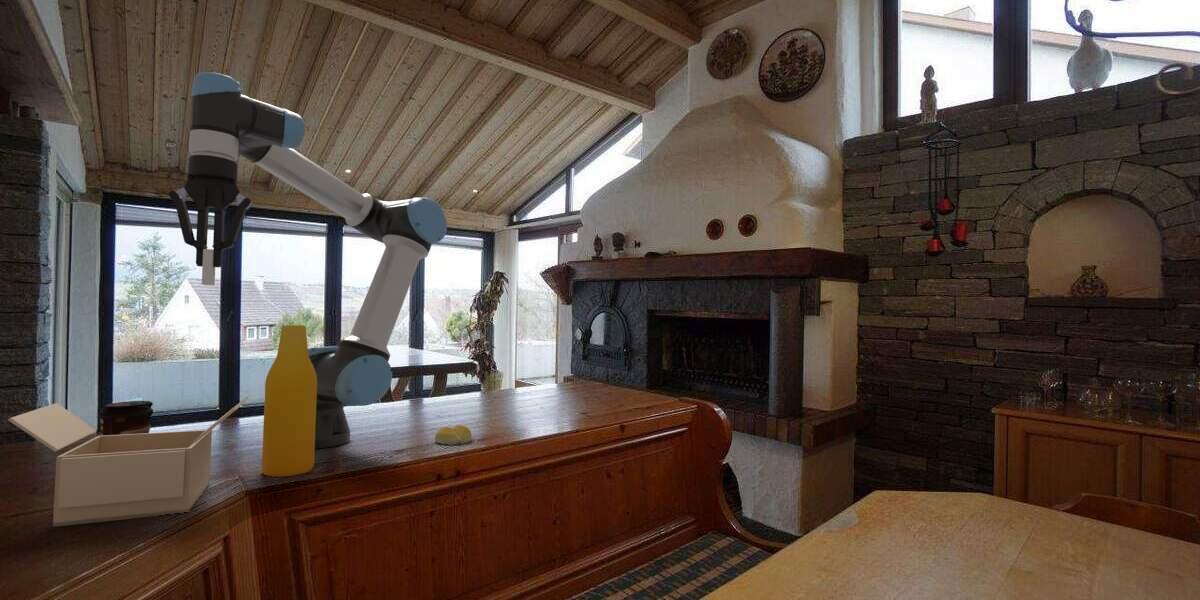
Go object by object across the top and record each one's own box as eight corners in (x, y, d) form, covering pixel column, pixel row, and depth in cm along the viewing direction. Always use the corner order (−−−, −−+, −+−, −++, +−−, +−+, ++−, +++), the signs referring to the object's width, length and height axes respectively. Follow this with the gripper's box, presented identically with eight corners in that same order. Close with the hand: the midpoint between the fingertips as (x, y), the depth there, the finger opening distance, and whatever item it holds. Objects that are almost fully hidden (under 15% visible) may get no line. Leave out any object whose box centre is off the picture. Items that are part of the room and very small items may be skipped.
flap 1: (56, 402, 91) (54, 404, 91) (10, 417, 78) (7, 420, 78) (96, 430, 93) (94, 432, 93) (57, 449, 80) (55, 451, 80)
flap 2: (212, 424, 100) (213, 426, 100) (193, 441, 87) (195, 443, 87) (247, 396, 102) (249, 397, 102) (233, 408, 89) (235, 410, 90)
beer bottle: (317, 463, 116) (322, 325, 117) (310, 475, 107) (316, 326, 108) (267, 466, 113) (272, 324, 114) (255, 479, 104) (262, 325, 105)
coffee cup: (163, 464, 112) (166, 400, 113) (124, 476, 104) (128, 407, 104) (124, 462, 113) (128, 398, 113) (83, 474, 105) (86, 405, 105)
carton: (210, 484, 100) (212, 428, 101) (187, 514, 86) (190, 449, 86) (96, 494, 94) (99, 434, 94) (50, 528, 79) (54, 458, 79)
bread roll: (431, 440, 140) (431, 424, 140) (466, 437, 145) (466, 421, 145) (439, 447, 133) (439, 430, 133) (475, 443, 137) (476, 427, 138)
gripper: (257, 168, 109) (252, 287, 109) (176, 159, 104) (170, 284, 103) (251, 158, 102) (246, 285, 102) (164, 148, 97) (158, 282, 96)
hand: (208, 284), depth 102 cm, fingers closed
